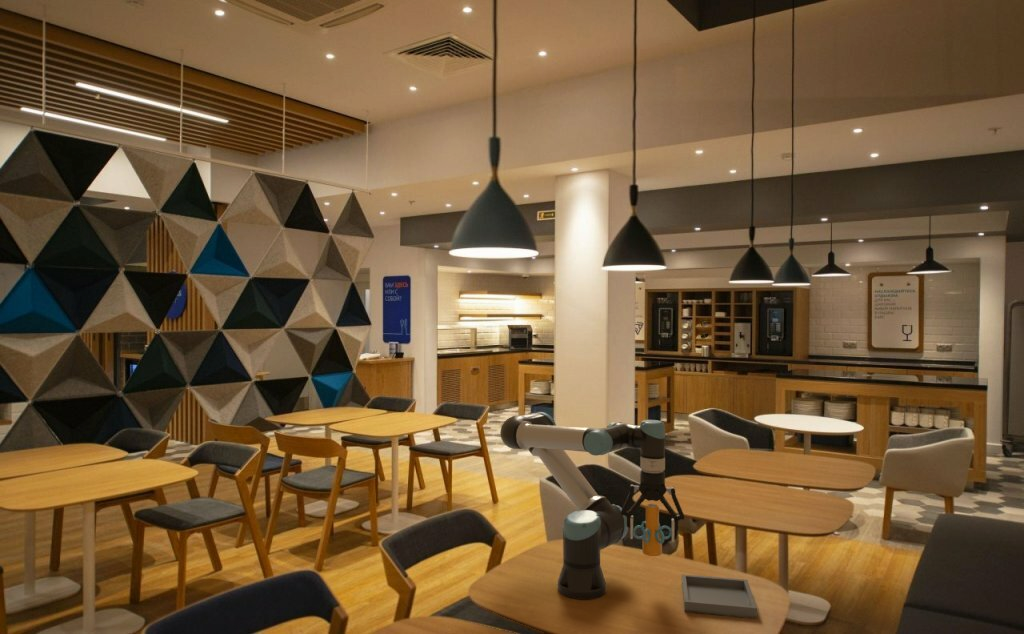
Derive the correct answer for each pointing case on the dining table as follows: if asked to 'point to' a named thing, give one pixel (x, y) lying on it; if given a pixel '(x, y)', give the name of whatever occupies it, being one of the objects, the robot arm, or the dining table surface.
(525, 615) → the dining table surface
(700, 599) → the tray
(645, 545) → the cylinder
